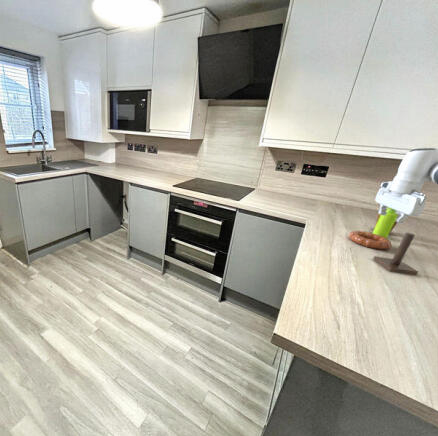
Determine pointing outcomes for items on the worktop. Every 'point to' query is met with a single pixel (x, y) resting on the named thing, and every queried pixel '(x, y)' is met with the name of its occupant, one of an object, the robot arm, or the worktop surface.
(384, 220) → the soap dispenser
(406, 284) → the worktop surface
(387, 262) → the stand
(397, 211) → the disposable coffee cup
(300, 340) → the worktop surface
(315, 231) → the worktop surface
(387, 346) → the worktop surface
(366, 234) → the ring
